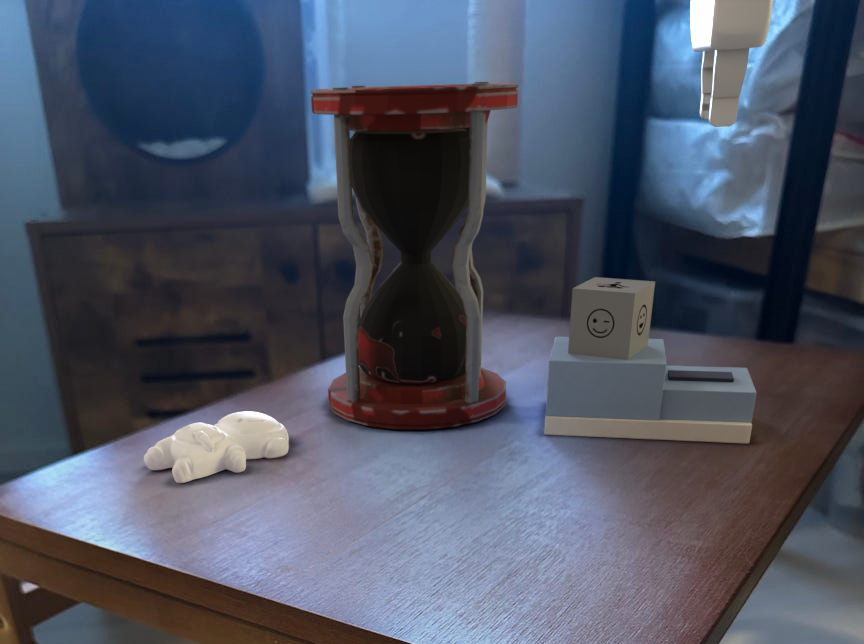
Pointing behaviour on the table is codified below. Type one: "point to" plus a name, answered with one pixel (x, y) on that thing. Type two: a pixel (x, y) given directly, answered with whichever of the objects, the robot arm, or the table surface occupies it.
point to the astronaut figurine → (219, 446)
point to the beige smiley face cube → (610, 317)
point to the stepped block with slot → (646, 397)
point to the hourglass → (413, 251)
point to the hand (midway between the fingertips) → (716, 122)
